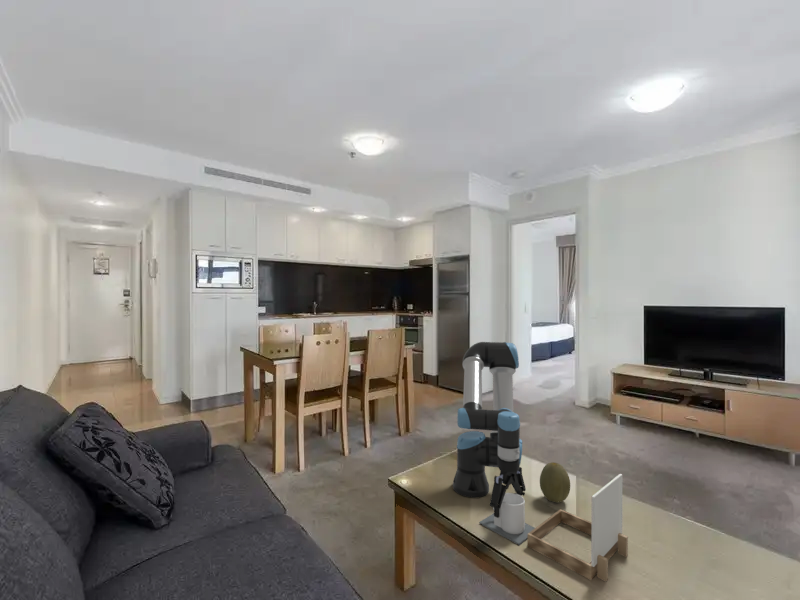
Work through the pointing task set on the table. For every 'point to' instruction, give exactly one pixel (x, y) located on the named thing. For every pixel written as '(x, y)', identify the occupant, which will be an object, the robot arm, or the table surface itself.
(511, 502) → the cup
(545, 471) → the fruit
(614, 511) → the lid
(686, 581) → the table surface
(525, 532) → the mat
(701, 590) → the table surface
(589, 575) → the frame
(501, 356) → the robot arm
